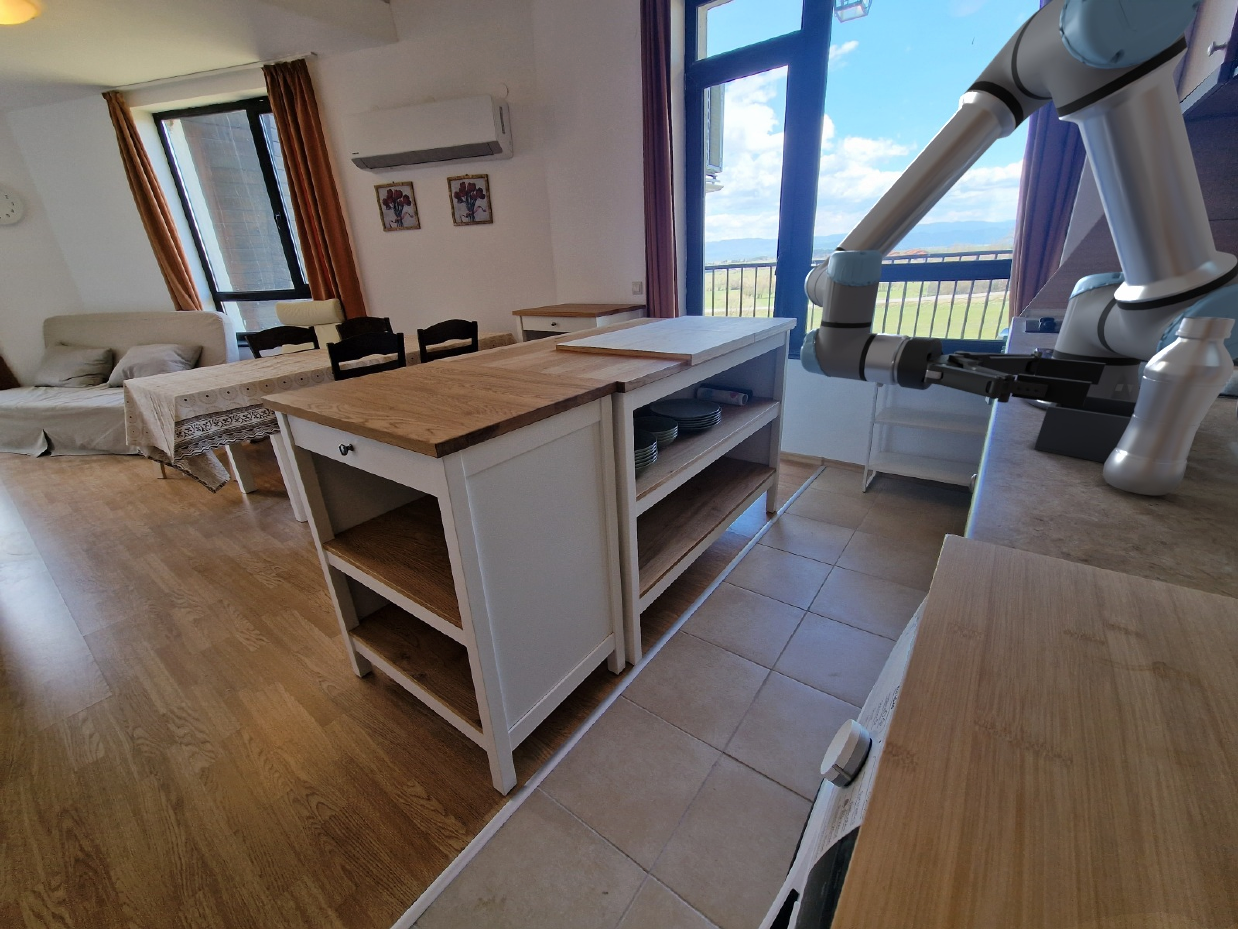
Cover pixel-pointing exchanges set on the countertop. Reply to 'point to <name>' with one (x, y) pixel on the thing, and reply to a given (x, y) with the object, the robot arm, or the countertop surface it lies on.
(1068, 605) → the countertop surface
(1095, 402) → the bin
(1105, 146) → the robot arm
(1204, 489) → the countertop surface
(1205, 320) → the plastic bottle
